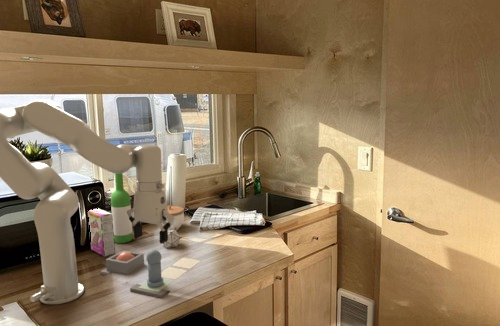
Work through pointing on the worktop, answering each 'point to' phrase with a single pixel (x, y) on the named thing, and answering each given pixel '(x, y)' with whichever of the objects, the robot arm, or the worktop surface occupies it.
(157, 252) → the pawn
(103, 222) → the candy bar box
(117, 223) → the wine bottle
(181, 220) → the lidded bowl
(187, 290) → the worktop surface
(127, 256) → the dome button
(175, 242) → the game die
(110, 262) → the button housing
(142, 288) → the track board
